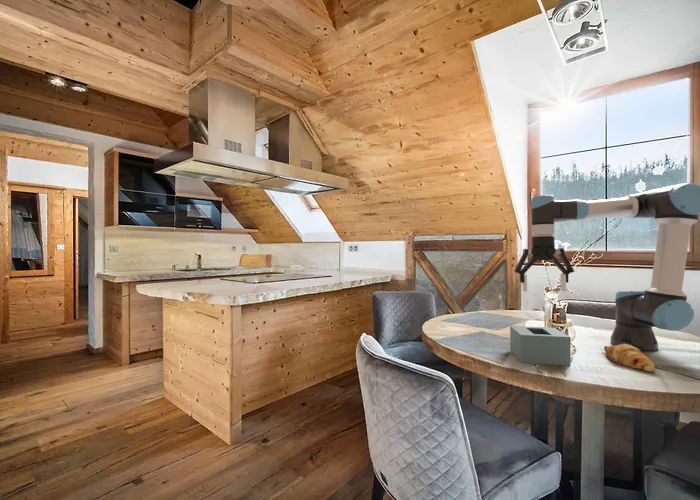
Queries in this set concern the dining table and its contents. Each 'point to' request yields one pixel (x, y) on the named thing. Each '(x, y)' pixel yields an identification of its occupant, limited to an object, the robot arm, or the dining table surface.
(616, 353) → the croissant
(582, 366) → the dining table surface
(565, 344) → the coin box
